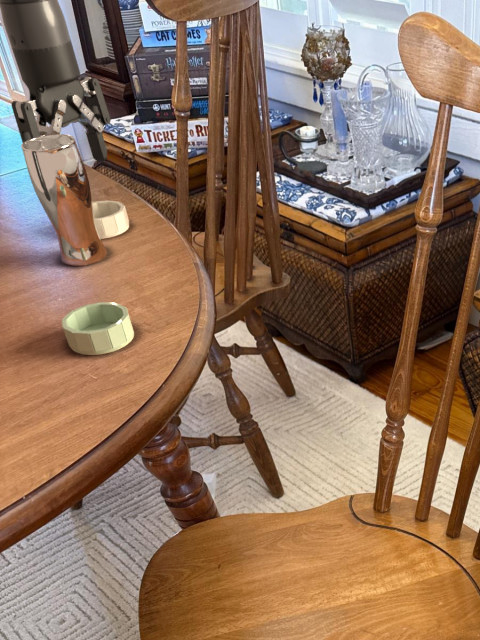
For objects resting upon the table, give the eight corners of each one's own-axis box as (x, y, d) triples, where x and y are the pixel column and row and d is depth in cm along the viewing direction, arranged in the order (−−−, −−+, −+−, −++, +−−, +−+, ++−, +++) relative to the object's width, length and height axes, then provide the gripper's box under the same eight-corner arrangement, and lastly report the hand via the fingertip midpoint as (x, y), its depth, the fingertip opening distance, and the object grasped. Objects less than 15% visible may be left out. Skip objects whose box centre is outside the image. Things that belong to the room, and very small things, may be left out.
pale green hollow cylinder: (94, 361, 88) (86, 339, 86) (57, 342, 92) (49, 320, 90) (147, 335, 92) (140, 313, 90) (109, 317, 96) (103, 296, 94)
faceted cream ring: (88, 243, 112) (82, 224, 111) (71, 227, 117) (65, 209, 115) (136, 230, 115) (131, 211, 114) (118, 215, 120) (113, 196, 118)
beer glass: (119, 255, 109) (86, 140, 99) (74, 272, 106) (35, 154, 95) (94, 242, 113) (60, 130, 102) (49, 257, 109) (9, 143, 99)
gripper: (18, 54, 96) (62, 189, 107) (100, 29, 105) (133, 156, 116) (-24, 50, 99) (24, 182, 110) (59, 26, 108) (95, 150, 119)
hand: (80, 169), depth 113 cm, fingers open, 8 cm apart
